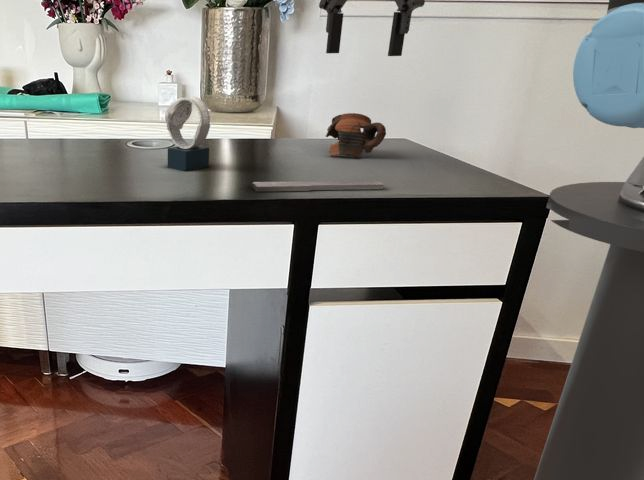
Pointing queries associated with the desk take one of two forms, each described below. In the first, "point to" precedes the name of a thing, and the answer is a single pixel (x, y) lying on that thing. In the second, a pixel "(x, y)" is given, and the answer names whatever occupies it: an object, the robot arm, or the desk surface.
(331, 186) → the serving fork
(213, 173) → the desk surface
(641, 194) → the robot arm
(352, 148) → the pottery mug
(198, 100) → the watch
